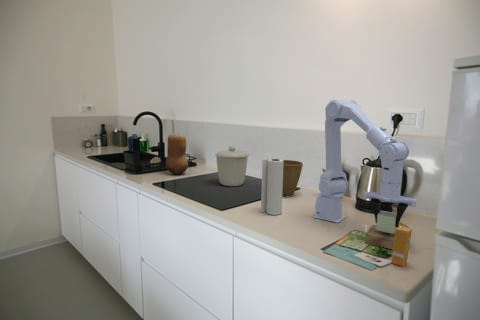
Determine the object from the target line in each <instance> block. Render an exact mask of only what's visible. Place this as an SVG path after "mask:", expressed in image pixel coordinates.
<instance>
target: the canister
mask: <svg viewBox="0 0 480 320" xmlns="http://www.w3.org/2000/svg"><path fill="white" fill-rule="evenodd" d="M214 155H215V157H216V167H217V175H218V181H219V183H220V185H222V186H226V187H238V186H242V185H243V184H244V183H245V180H246V173H247V166H248V158H249V156H250V154H249V153H248V152H246V151H243V150H236V147H235V146H234V145H229V147H228V149H227V150H226V149H225V150H220V151H218V152H216V153H215V154H214Z"/></svg>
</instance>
